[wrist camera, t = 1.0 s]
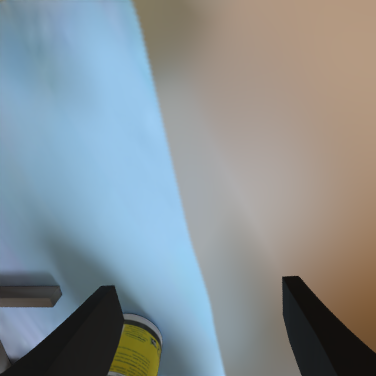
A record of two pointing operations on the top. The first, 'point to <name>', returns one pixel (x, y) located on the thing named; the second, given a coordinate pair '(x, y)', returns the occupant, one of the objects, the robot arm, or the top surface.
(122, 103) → the top surface
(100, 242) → the top surface
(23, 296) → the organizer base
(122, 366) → the pill bottle
